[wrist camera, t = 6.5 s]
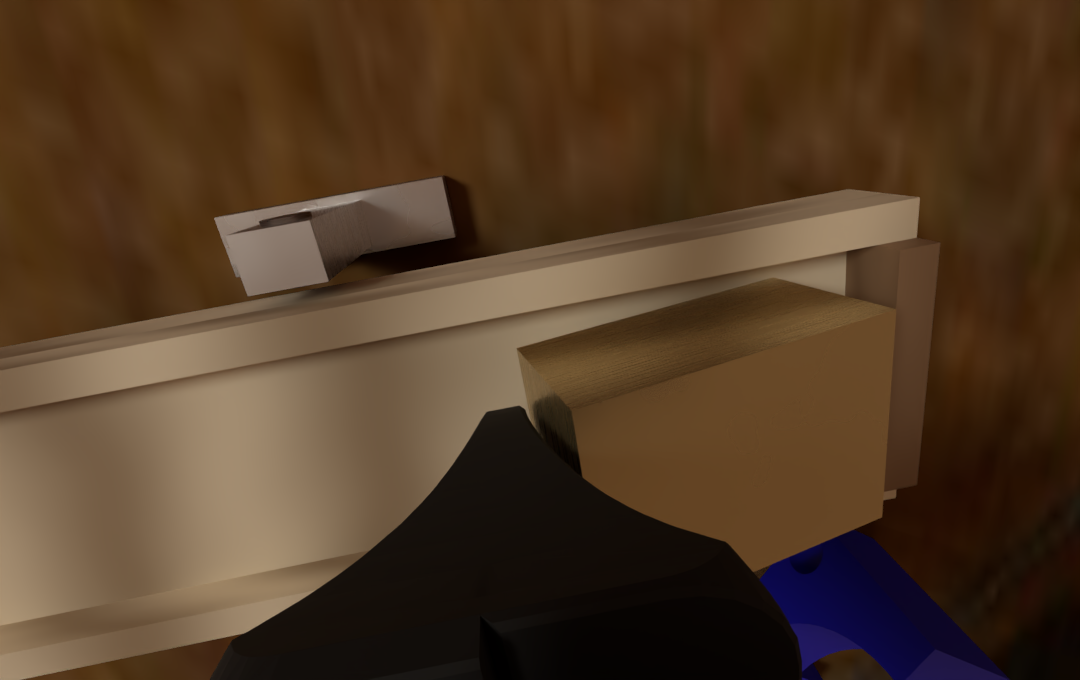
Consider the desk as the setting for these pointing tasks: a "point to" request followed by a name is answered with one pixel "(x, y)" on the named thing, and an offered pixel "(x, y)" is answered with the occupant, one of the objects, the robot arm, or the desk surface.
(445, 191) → the pivot stand
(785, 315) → the block
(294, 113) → the desk surface
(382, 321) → the balance beam
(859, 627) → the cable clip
